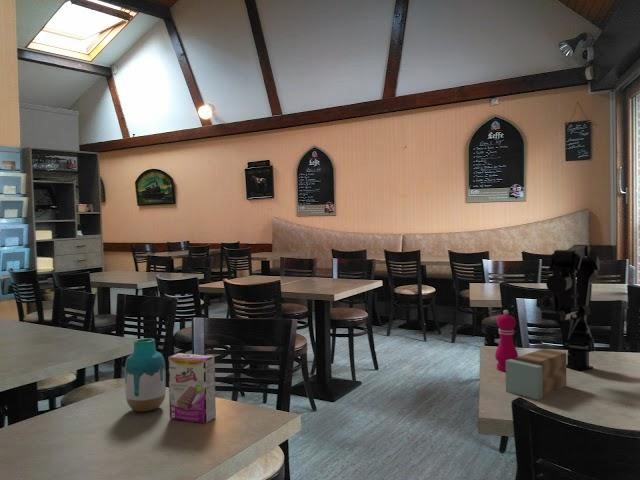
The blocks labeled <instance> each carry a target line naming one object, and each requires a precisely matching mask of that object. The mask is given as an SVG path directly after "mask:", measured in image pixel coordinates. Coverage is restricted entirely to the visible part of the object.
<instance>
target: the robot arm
mask: <svg viewBox="0 0 640 480" xmlns="http://www.w3.org/2000/svg"><path fill="white" fill-rule="evenodd" d="M548 267H549V268H548V273H552V274H551V275H550V276H549V277H548V278H547V280H546V281H545V282H546V283H545V284H546V287H547V289H548V291H550V293H552V295H551V297H550V298H549V297H548V298H546V297H544V296H541V297H540V296H539V297H537V298H536V304H535V306H536V307H537V308H538V309H539V310H540V319H541V320H547V321H553V322H556V323H557V324H558V326H559V329H560V332H561V340H562V342H561V343H562V349H564V350H567V353H566V368H569V369H573V370H577V371H579V372H580V371H586V370H587V371H588V370H591V369H594V366H592V365H590V353H591V352H595V349H596V348H595V341H594V338H593V335H592V333H591V329H590V327H589V325H588V324H587V319H588V318H587V317H588V316H589V315H591V308H590V306H589V302H590V301H589V300H590V292H591V285H592V282H593V281H594V280H595V279H596V278H597V276H598V272H599V271H600V268H601V261H600V258H599V255H598V253H596V252H595V251H593V250H592V249H591V248H590V245H588V244H574V245H572V246H571V247H569V248H568V249H556V250H554V251H553V253H552V254H551V256H550V263H549V266H548Z"/></svg>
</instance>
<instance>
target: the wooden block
mask: <svg viewBox="0 0 640 480" xmlns="http://www.w3.org/2000/svg"><path fill="white" fill-rule="evenodd" d="M516 360H517V361H522V362H526V363H531V364H535V365H540V366H542V380H543V396H544V394H545V395H548V394H550V393H553V392H555V391H557V389H558V390H560V389H563V388H565V387H567V367H566V364H567V353H566V352H562V351H557V350H552V349H546V348H543V349H539V350H535V351H532V352H530V353H525V354H522V355H518V357H516ZM552 391H553V392H552Z"/></svg>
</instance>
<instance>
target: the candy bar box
mask: <svg viewBox="0 0 640 480" xmlns="http://www.w3.org/2000/svg"><path fill="white" fill-rule="evenodd" d="M167 359H168V390H169V391H168V392H169V393H168V394H169V395H168V396H169V401H168V402H169V419H170V420H174V419H176V420H175V421H181V422H182V421H183V422H189V421H190V422H191V423H197V422H198V423H199V424H209V423H210V422H212V420H214V419H215V418H216V417H217V415H216V414H217V411H216V406H217V405H216V377H215V376H216V375H215V374H216V372H215V371H216V369H215V368H216V366H215V365H216V364H215V361H216V360H215V359H216V358H215V356H214V355H209V354H208V355H207V354H206V355H205V354H193V353H184V352H183V353H182V352H178V353H175V354H173V355H170V356H168V358H167ZM209 421H210V422H209ZM208 422H209V423H208Z"/></svg>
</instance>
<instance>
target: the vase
mask: <svg viewBox="0 0 640 480" xmlns="http://www.w3.org/2000/svg"><path fill="white" fill-rule="evenodd" d="M155 340H156V339H155V338H152V337H145V338H143V337H142V338H137V339H135V340H134V341H133V351H132V354H130V355H129V356H128V357H127V358H126V359H125V365H124V389H125V398H126V399H125V400H126V403H127V405H128V407H129V409H131V410H133V411H136V412H142V413H143V412H150V411H153V410H154V411H155V409H158V408H159V407H161V405H163V402H164V401H165V399H166V398H165V397H166V390H167V389H166V387H167V380H166V379H167V375H166V374H167V373H166V361H165V358H164V356H163V354H162V353H161V352H159V351H157V349H156V341H155Z"/></svg>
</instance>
